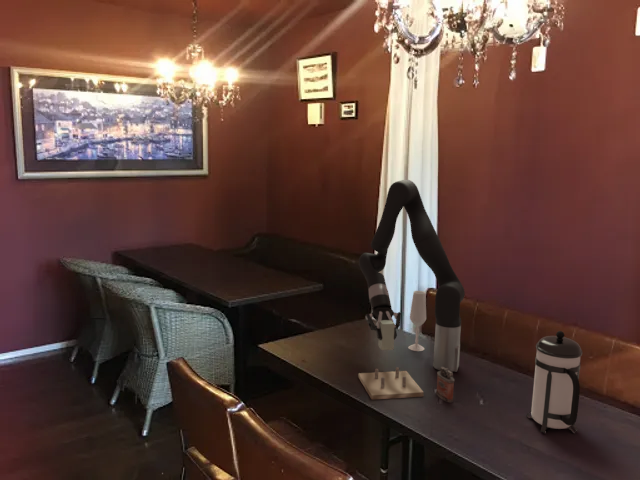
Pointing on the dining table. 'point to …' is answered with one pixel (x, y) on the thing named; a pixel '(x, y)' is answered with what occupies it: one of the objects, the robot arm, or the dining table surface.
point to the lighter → (445, 384)
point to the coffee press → (556, 382)
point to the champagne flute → (418, 316)
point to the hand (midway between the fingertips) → (387, 338)
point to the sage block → (387, 335)
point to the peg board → (390, 385)
